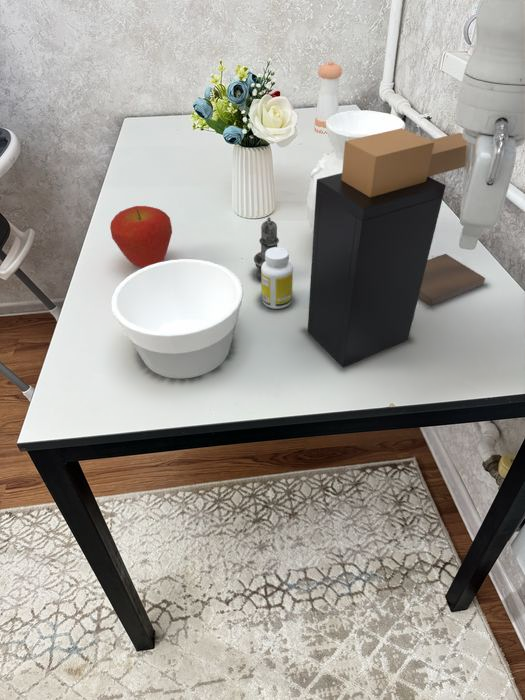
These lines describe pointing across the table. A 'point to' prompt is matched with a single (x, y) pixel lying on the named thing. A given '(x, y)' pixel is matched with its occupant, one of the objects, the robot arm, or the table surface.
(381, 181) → the brown stepped block
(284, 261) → the supplement bottle
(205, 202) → the table surface
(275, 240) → the dark grey tall piece
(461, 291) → the board
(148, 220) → the apple
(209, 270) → the bowl
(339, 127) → the pitcher
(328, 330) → the tall black box
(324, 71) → the salt shaker
